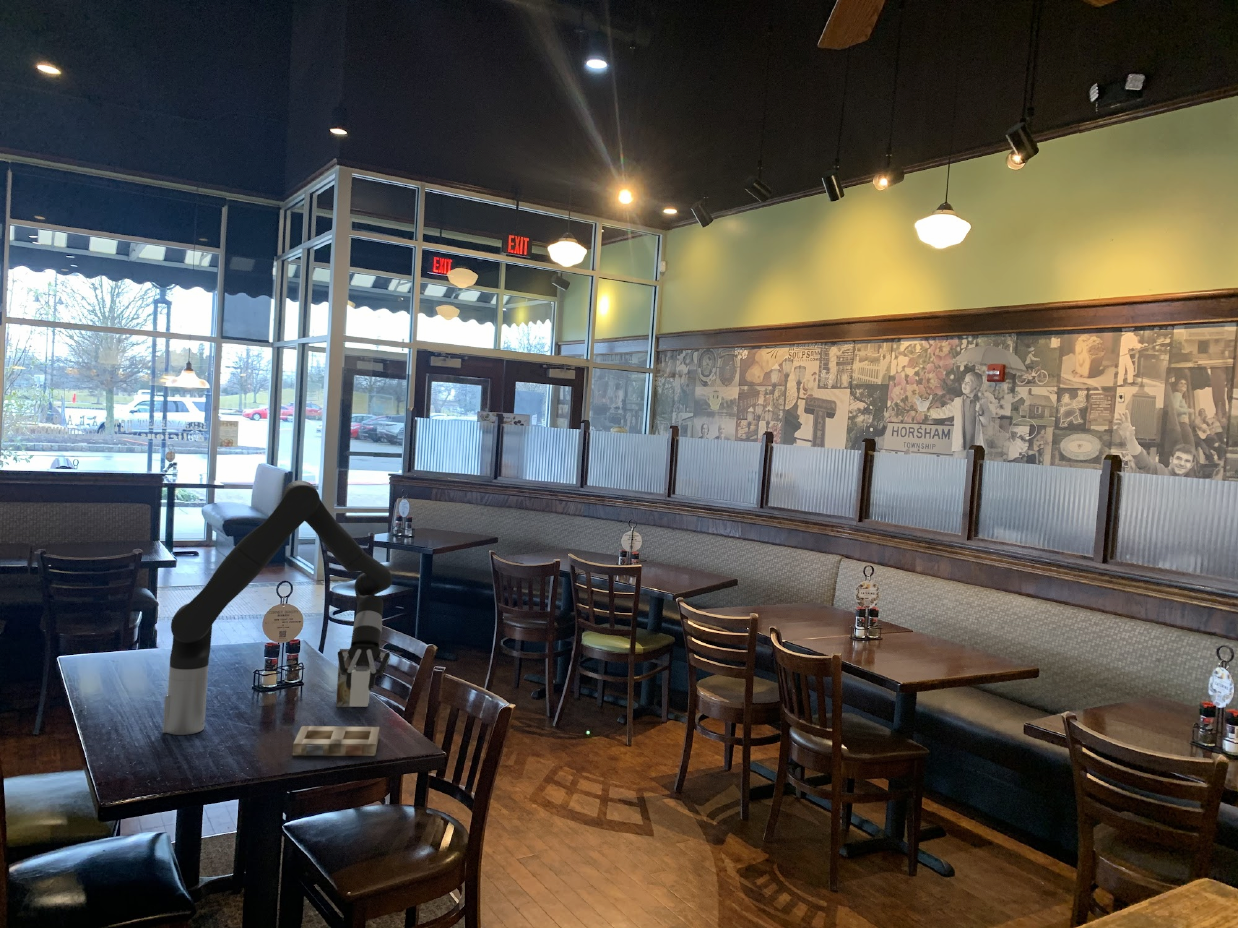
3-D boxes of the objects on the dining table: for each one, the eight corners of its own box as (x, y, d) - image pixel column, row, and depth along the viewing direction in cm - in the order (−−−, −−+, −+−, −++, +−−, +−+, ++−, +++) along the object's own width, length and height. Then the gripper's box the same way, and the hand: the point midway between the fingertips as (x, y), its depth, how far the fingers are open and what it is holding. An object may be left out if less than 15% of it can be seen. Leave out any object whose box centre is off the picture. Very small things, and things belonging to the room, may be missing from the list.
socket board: (292, 755, 217) (293, 744, 217) (301, 737, 231) (301, 725, 231) (374, 756, 221) (375, 744, 221) (378, 737, 235) (379, 726, 234)
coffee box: (367, 700, 265) (371, 648, 265) (367, 707, 259) (371, 653, 259) (336, 700, 263) (339, 648, 262) (335, 707, 257) (338, 653, 256)
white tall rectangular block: (349, 706, 224) (351, 669, 224) (351, 700, 229) (353, 664, 228) (367, 706, 225) (369, 669, 225) (368, 701, 230) (371, 665, 229)
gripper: (339, 623, 232) (330, 680, 221) (394, 624, 235) (388, 682, 224) (340, 638, 238) (331, 695, 226) (394, 639, 240) (388, 696, 229)
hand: (359, 688), depth 225 cm, fingers closed on white tall rectangular block, 4 cm apart
